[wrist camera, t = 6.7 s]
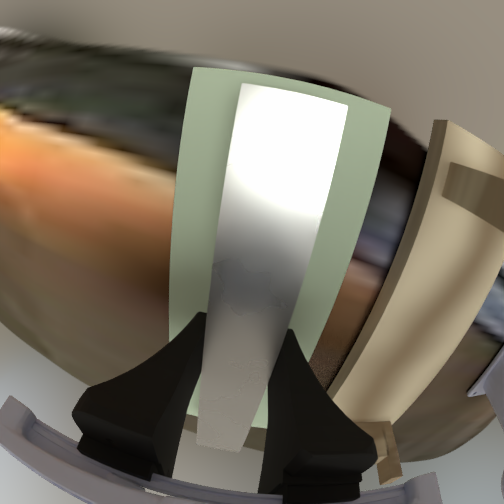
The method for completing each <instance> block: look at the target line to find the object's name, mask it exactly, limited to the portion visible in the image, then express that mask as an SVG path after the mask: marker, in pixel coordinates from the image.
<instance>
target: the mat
mask: <svg viewBox="0 0 504 504" xmlns="http://www.w3.org/2000/svg"><path fill="white" fill-rule="evenodd" d="M242 83H246V84H253V85H259V86H265V87H271V88H277V89H282V90H287V91H292V92H297V93H301V94H305V95H310V96H314V97H318V98H322V99H326V100H329V101H333V102H336V103H340V104H343V105H347V106H348V108H347V113H346V118H345V123H344V127H343V132H342V137H341V141H340V146H339V150H338V154H337V159H336V163H335V167H334V171H333V176H332V180H331V184H330V188H329V192H328V195H327V199H326V203H325V207H324V211H323V214H322V218H321V222H320V225H319V229H318V233H317V236H316V240H315V243H314V247H313V250H312V254H311V257H310V260H309V264H308V267H307V270H306V274H305V277H304V280H303V283H302V286H301V290H300V293H299V296H298V299H297V302H296V305H295V308H294V311H293V314H292V317H291V320H290V323H289V326H288V328H289V329H293V331H294V333H295V336H296V338H297V340H298V343H299V345H300V347H301V350H302V352H303V354H304V356H305V358H306V360H307V362H309V360H310V358H311V356H312V353H313V351H314V349H315V347H316V345H317V342H318V340H319V338H320V336H321V333H322V331H323V329H324V326H325V324H326V322H327V319H328V317H329V315H330V312H331V310H332V307H333V305H334V302H335V300H336V297H337V295H338V292H339V290H340V287H341V284H342V282H343V279H344V276H345V274H346V271H347V268H348V265H349V263H350V260H351V257H352V254H353V251H354V248H355V245H356V242H357V239H358V236H359V233H360V230H361V227H362V224H363V220H364V217H365V214H366V211H367V207H368V204H369V200H370V197H371V193H372V190H373V186H374V183H375V179H376V175H377V171H378V167H379V163H380V159H381V155H382V151H383V147H384V142H385V138H386V133H387V128H388V123H389V118H390V113H391V109H390V108H388V107H385V106H383V105H380V104H377V103H374V102H372V101H369V100H366V99H363V98H360V97H357V96H354V95H350V94H347V93H344V92H341V91H337V90H334V89H330V88H326V87H322V86H319V85H315V84H310V83H306V82H302V81H297V80H292V79H288V78H282V77H277V76H271V75H266V74H259V73H252V72H245V71H237V70H227V69H216V68H202V67H193V72H192V77H191V82H190V88H189V93H188V98H187V104H186V110H185V116H184V123H183V129H182V136H181V143H180V151H179V159H178V167H177V176H176V185H175V196H174V207H173V220H172V234H171V252H170V278H169V342H170V341H171V340H172V339H174V338H175V337H176V336H177V335H178V334H179V333H180V332H181V331H182V330H183V329H184V328H185V326H186V325H187V324H188V323H189V322H190V321H191V320H192V318H193V317H194V316H195V315H196V313H197V312H199V311H200V312H205V313H207V309H208V300H209V291H210V282H211V274H212V266H213V258H214V250H215V243H216V235H217V228H218V221H219V214H220V207H221V200H222V194H223V187H224V181H225V175H226V168H227V162H228V156H229V150H230V144H231V139H232V133H233V127H234V122H235V116H236V111H237V105H238V100H239V95H240V90H241V85H242ZM200 383H201V374H200V377H199V379H198V382H197V384H196V387H195V390H194V392H193V395H192V398H191V400H190V403H189V406H188V409H187V413H186V414H190V415H195V416H198V410H199V395H200ZM267 424H268V386H267V387H266V390H265V392H264V395H263V397H262V400H261V402H260V405H259V408H258V410H257V413H256V415H255V417H254V420H253V422H252V425H251V426H253V427H260V428H267Z"/></svg>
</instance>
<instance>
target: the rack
mask: <svg viewBox="0 0 504 504" xmlns="http://www.w3.org/2000/svg"><path fill="white" fill-rule="evenodd" d="M503 261H504V155H503V154H501V153H500V152H499V151H497V150H496V149H494V148H493V147H491V146H490V145H488V144H487V143H485V142H484V141H482V140H481V139H479V138H478V137H476V136H475V135H473V134H471V133H470V132H468V131H466V130H465V129H463V128H461V127H460V126H458V125H456V124H454V123H452V122H451V121H449V120H434V123H433V128H432V134H431V139H430V143H429V148H428V152H427V156H426V161H425V165H424V169H423V173H422V176H421V180H420V184H419V187H418V191H417V194H416V197H415V201H414V204H413V207H412V210H411V213H410V216H409V220H408V222H407V225H406V228H405V231H404V234H403V237H402V240H401V242H400V245H399V248H398V250H397V253H396V255H395V258H394V261H393V263H392V266H391V268H390V270H389V273H388V275H387V278H386V280H385V282H384V285H383V287H382V289H381V291H380V294H379V296H378V298H377V300H376V302H375V304H374V307H373V309H372V311H371V313H370V315H369V317H368V319H367V321H366V323H365V325H364V327H363V329H362V331H361V333H360V335H359V337H358V339H357V340H356V342H355V344H354V346H353V348H352V350H351V352H350V353H349V355H348V357H347V359H346V361H345V362H344V364H343V366H342V367H341V369H340V371H339V373H338V374H337V376H336V378H335V379H334V381H333V383H332V384H331V386H330V387H329V389H328V391H327V392H326V393H327V394H328V395H329V396H330V398H331V399H332V400H333V401H334V403H335V404H336V405H337V406H338V407H339V408H340V409H341V410H342V411H343V412H344V414H345V415H346V416H347V417H349V418H350V419H351V420H352V421H353V422H354V423H355V424H356V425H357V426H359V427H360V428H361V429H362V430H364V431H365V432H366V433H368V434H369V435H370V436H372V437H373V438H374V442H375V445H376V449H377V454H378V460H377V462H376V463H375V464H377V469H378V475H379V482H380V485H383V484H389V483H392V482H394V481H395V480H397V479H399V478H400V477H402V476H403V475H402V470H401V465H400V460H399V455H398V451H397V446H396V442H395V438H394V434H393V430H392V426H391V425H392V424H393V423H394V422H395V421H396V420H397V419H398V418H399V417H400V416H401V415H402V414H403V413H404V412H405V411H406V410H407V409H408V408H409V407H410V405H411V404H412V403H413V402H414V401H415V400H416V399H417V398H418V396H419V395H420V394H421V393H422V392H423V391H424V389H425V388H426V387H427V386H428V385H429V383H430V382H431V381H432V380H433V378H434V377H435V376H436V375H437V373H438V372H439V371H440V369H441V368H442V367H443V365H444V364H445V363H446V361H447V360H448V359H449V357H450V356H451V354H452V353H453V352H454V350H455V349H456V347H457V346H458V344H459V343H460V341H461V340H462V338H463V337H464V335H465V333H466V332H467V330H468V329H469V327H470V325H471V324H472V322H473V320H474V319H475V317H476V315H477V314H478V312H479V310H480V308H481V306H482V305H483V303H484V301H485V299H486V297H487V295H488V293H489V291H490V289H491V287H492V285H493V283H494V281H495V279H496V277H497V275H498V273H499V270H500V268H501V266H502V264H503Z"/></svg>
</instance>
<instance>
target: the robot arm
mask: <svg viewBox="0 0 504 504" xmlns="http://www.w3.org/2000/svg"><path fill="white" fill-rule="evenodd" d="M206 318H207V313H205V312H200V311H199V312H197V313H196V315H195V316H194V317H193V318H192V320H191V321H190V322H189V323H188V324H187V325H186V326H185V328H184V329H183V330H182V331H181V332H180V333H179V334H178V335H177V336H176V337H175V338H174V339H172V340H171V341H170V342H169V343H168V344H167V345H166V346H164V347H163V348H162V349H161V350H160V351H158V352H157V353H156V354H155V355H153V356H152V357H150V358H149V359H148V360H146V361H145V362H143V363H141V364H140V365H138V366H137V367H135V368H133V369H131V370H130V371H128V372H126V373H124V374H122V375H119V376H117V377H115V378H113V379H111V380H108V381H106V382H103V383H100V384H98V385H95V386H92V387H89V388H87V390H86V391H85V392H84V393H83V395H82V396H81V398H80V399H79V401H78V402H77V404H76V406H75V408H74V409H73V411H72V417H73V419H74V421H75V423H76V424H77V426H78V427H79V428H80V430H81V432H82V433H83V435H82V437H81V439H80V442H79V443H78V442H77V441H74V440H73V439H71V438H69V437H67V436H65V435H63V434H62V433H60V432H58V431H56V430H55V429H53V428H51V427H50V426H48V425H46V424H45V423H43V422H41V421H40V420H38V419H37V418H36V416H35V415H34V414H33V412H32V411H31V410H30V409H29V408H28V407H26V406H25V405H24V404H22V403H21V402H20V401H18V400H17V399H15V398H14V397H12V396H9V397H8V399H7V400H6V402H5V403H4V405H3V406H2V408H1V409H0V445H1V446H2V447H3V448H4V449H5V450H6V451H8V452H9V453H10V454H11V455H12V456H13V457H15V458H16V459H17V460H19V461H20V462H21V463H23V464H24V465H25V466H27V467H28V468H30V469H31V470H32V471H34V472H35V473H37V474H38V475H39V476H41V477H42V478H44V479H45V480H47V481H49V482H50V483H52V484H53V485H55V486H57V487H58V488H60V489H62V490H63V491H65V492H67V493H69V494H70V495H72V496H74V497H76V498H78V499H80V500H81V501H83V502H85V503H87V504H442V499H441V495H440V490H439V485H438V481H437V477H436V473H435V472H431V473H428V474H424V475H421V476H417V477H414V478H412V479H410V480H408V481H407V482H405V483H404V484H401V485H396V486H391V487H386V488H380V489H375V490H368V491H361V492H360V489H359V482H361V481H362V475H361V473H363V472H364V471H366V470H367V469H369V468H370V467H371V466H373V465H374V464H375V463H376V462H377V460H378V454H377V449H376V445H375V442H374V438H373V437H372V436H370V435H369V434H368V433H366V432H365V431H364V430H362V429H361V428H360V427H359V426H357V425H356V424H355V423H354V422H353V421H352V420H351V419H350V418H349V417H347V416H346V415H345V414H344V412H343V411H342V410H341V409H340V408H339V407H338V406H337V405H336V404H335V403H334V401H333V400H332V399H331V398H330V396H329V395H328V394H327V393H326V391H325V390H324V388H323V387H322V385H321V384H320V382H319V381H318V379H317V378H316V376H315V374H314V373H313V371H312V369H311V367H310V366H309V364H308V362H307V360H306V358H305V356H304V354H303V352H302V350H301V347H300V345H299V343H298V340H297V338H296V336H295V333H294V331H293V329H289V328H288V329H287V332H286V335H285V338H284V341H283V344H282V346H281V349H280V352H279V355H278V358H277V360H276V363H275V366H274V369H273V371H272V374H271V377H270V379H269V382H268V384H267V386H268V424H267V433H266V442H265V450H264V458H263V464H262V471H261V477H260V483H259V488H258V493H247V492H238V491H231V490H224V489H217V488H212V487H206V486H202V485H197V484H192V483H188V482H184V481H180V480H176V479H172V474H173V469H174V464H175V459H176V455H177V450H178V446H179V441H180V437H181V433H182V429H183V425H184V421H185V417H186V413H187V409H188V406H189V403H190V400H191V398H192V395H193V392H194V390H195V387H196V384H197V382H198V379H199V377H200V374H201V370H202V359H203V348H204V338H205V328H206ZM482 394H486V395H487V397H488V399H489V401H490V403H491V405H492V407H493V409H494V411H495V413H496V416H497V418H498V420H499V422H500V424H501V427H502V429H503V431H504V346H503V347H502V349H501V350H500V351H499V353H498V354H497V356H496V357H495V358H494V360H493V361H492V363H491V364H490V365H489V367H488V368H487V369H486V370H485V372H484V373H483V374H482V375H481V377H480V378H479V379H478V380H477V382H476V383H475V384H474V385H473V386H472V388H471V389H470V390H469V391H468V392H467V395H468V397H472V396H477V395H482ZM140 486H141V487H140ZM143 487H144V488H147V489H150V490H153V491H157V492H160V493H163V494H167V495H171V496H166V497H164V496H160V495H156V494H152V493H148V492H145V489H144V488H143ZM501 490H502V495H503V498H504V471H503V475H502V480H501ZM172 496H174V497H172Z"/></svg>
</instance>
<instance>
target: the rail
mask: <svg viewBox="0 0 504 504" xmlns="http://www.w3.org/2000/svg"><path fill="white" fill-rule="evenodd" d="M347 108H348V106H347V105H343V104H340V103H336V102H333V101H329V100H326V99H322V98H318V97H314V96H310V95H305V94H301V93H297V92H292V91H287V90H282V89H277V88H271V87H265V86H259V85H253V84H246V83H242V85H241V90H240V95H239V100H238V105H237V111H236V116H235V122H234V127H233V133H232V139H231V144H230V150H229V156H228V162H227V168H226V175H225V181H224V187H223V194H222V200H221V207H220V214H219V221H218V228H217V235H216V243H215V250H214V258H213V266H212V274H211V282H210V291H209V300H208V309H207V318H206V328H205V338H204V348H203V359H202V370H201V383H200V395H199V410H198V425H197V443H196V444H197V445H202V446H206V447H211V448H216V449H222V450H227V451H233V452H240V450H241V448H242V446H243V444H244V441H245V439H246V437H247V434H248V432H249V430H250V427H251V425H252V422H253V420H254V417H255V415H256V413H257V410H258V408H259V405H260V402H261V400H262V397H263V395H264V392H265V390H266V387H267V384H268V382H269V379H270V377H271V374H272V371H273V369H274V366H275V363H276V360H277V358H278V355H279V352H280V349H281V346H282V344H283V341H284V338H285V335H286V332H287V329H288V326H289V323H290V320H291V317H292V314H293V311H294V308H295V305H296V302H297V299H298V296H299V293H300V290H301V286H302V283H303V280H304V277H305V274H306V270H307V267H308V264H309V260H310V257H311V254H312V250H313V247H314V243H315V240H316V236H317V233H318V229H319V225H320V222H321V218H322V214H323V211H324V207H325V203H326V199H327V195H328V192H329V188H330V184H331V180H332V176H333V171H334V167H335V163H336V159H337V154H338V150H339V146H340V141H341V137H342V132H343V127H344V123H345V118H346V113H347Z"/></svg>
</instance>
